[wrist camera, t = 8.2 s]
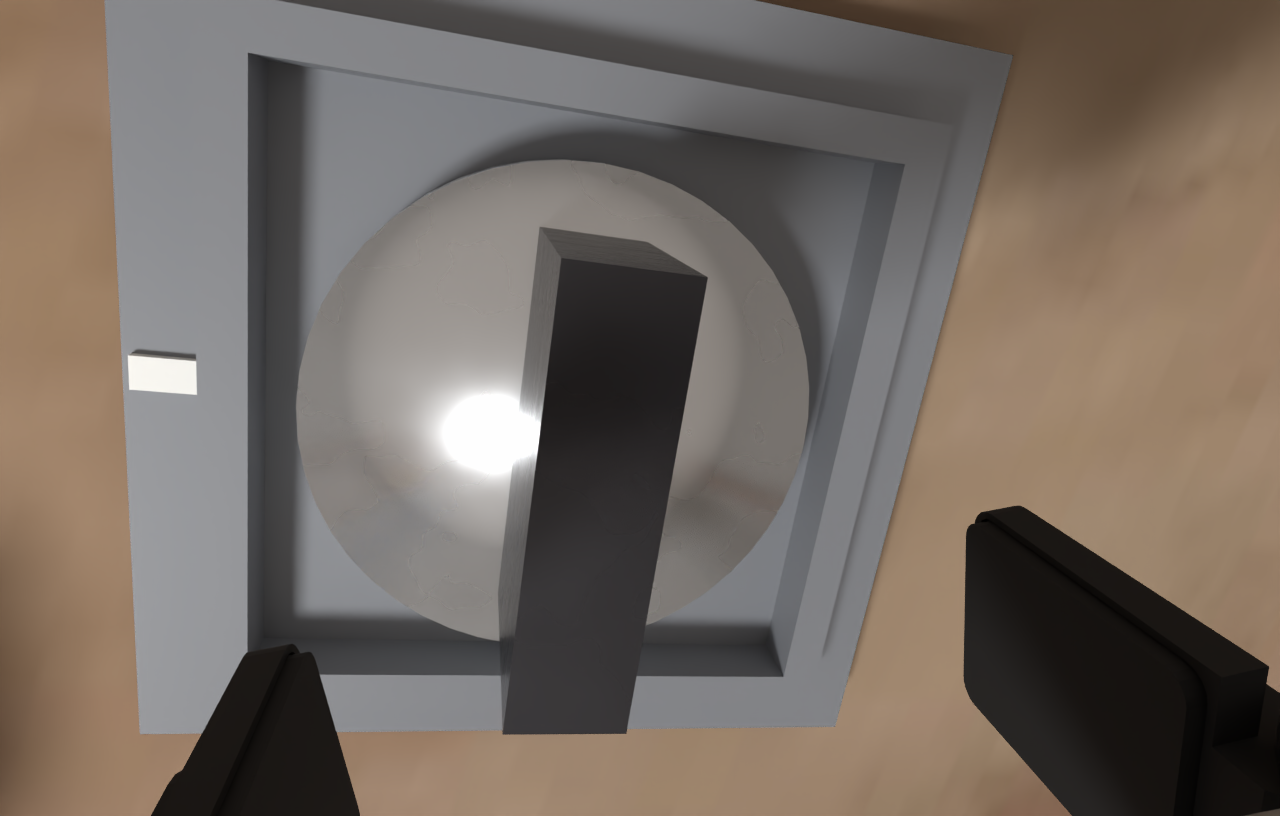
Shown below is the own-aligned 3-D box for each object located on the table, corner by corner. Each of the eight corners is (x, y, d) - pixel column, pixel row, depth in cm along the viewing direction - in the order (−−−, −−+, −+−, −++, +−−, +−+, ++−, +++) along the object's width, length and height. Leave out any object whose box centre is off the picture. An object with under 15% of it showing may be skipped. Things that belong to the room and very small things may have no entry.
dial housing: (977, 61, 21) (1054, 47, 18) (816, 696, 26) (855, 761, 24) (131, -115, 16) (57, -170, 13) (161, 696, 22) (115, 776, 19)
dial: (318, 117, 17) (224, 101, 11) (831, 200, 19) (990, 225, 13) (302, 606, 20) (226, 804, 14) (740, 618, 23) (833, 789, 17)
